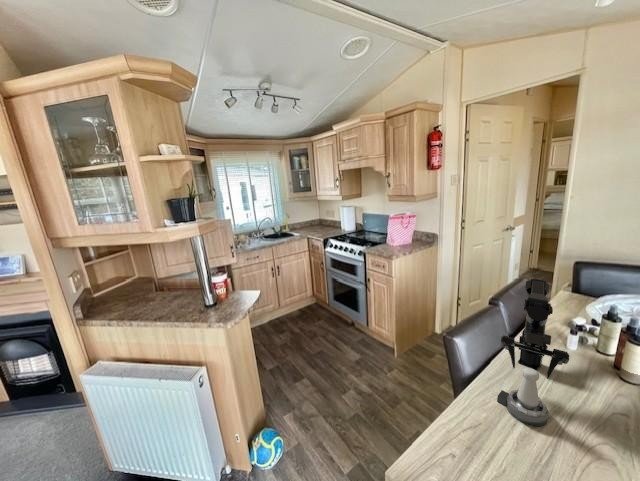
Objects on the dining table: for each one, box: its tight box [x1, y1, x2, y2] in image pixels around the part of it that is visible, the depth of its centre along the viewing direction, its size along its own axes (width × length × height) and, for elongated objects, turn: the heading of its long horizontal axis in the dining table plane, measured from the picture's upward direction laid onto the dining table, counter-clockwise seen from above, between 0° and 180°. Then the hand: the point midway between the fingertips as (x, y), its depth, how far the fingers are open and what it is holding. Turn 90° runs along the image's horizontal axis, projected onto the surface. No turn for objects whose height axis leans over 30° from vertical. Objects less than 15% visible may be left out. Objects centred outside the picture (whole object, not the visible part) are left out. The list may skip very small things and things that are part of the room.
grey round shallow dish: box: [496, 389, 549, 428], centre depth 90 cm, size 13×11×4 cm
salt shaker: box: [517, 367, 540, 409], centre depth 87 cm, size 6×6×13 cm
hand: (530, 373), depth 92 cm, fingers open, 9 cm apart
